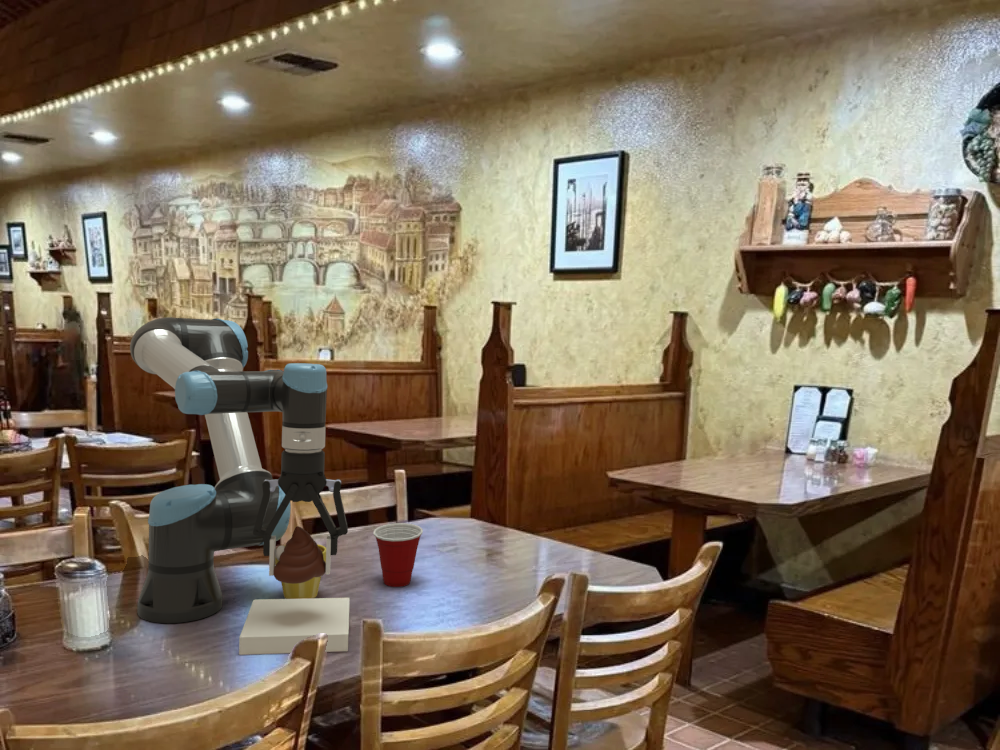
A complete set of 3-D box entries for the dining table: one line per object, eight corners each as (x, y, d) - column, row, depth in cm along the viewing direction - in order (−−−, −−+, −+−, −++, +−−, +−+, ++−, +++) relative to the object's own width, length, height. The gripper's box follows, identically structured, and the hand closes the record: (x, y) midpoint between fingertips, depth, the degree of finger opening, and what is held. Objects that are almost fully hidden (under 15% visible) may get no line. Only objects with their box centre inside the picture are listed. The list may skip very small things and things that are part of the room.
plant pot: (272, 589, 162) (273, 543, 161) (322, 585, 165) (323, 541, 165) (276, 607, 152) (277, 558, 152) (329, 602, 156) (330, 555, 155)
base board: (239, 654, 130) (239, 637, 130) (253, 614, 148) (253, 599, 147) (347, 651, 133) (348, 634, 133) (349, 612, 151) (349, 597, 151)
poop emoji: (295, 588, 133) (297, 535, 132) (261, 578, 137) (262, 526, 137) (336, 574, 141) (338, 524, 141) (303, 565, 146) (304, 516, 145)
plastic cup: (361, 585, 167) (362, 530, 166) (390, 572, 177) (392, 520, 176) (402, 594, 162) (404, 538, 161) (430, 581, 172) (432, 528, 171)
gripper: (236, 452, 133) (233, 580, 134) (365, 453, 137) (361, 578, 138) (242, 445, 140) (240, 567, 141) (365, 447, 144) (361, 565, 145)
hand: (300, 572), depth 140 cm, fingers closed on poop emoji, 9 cm apart
